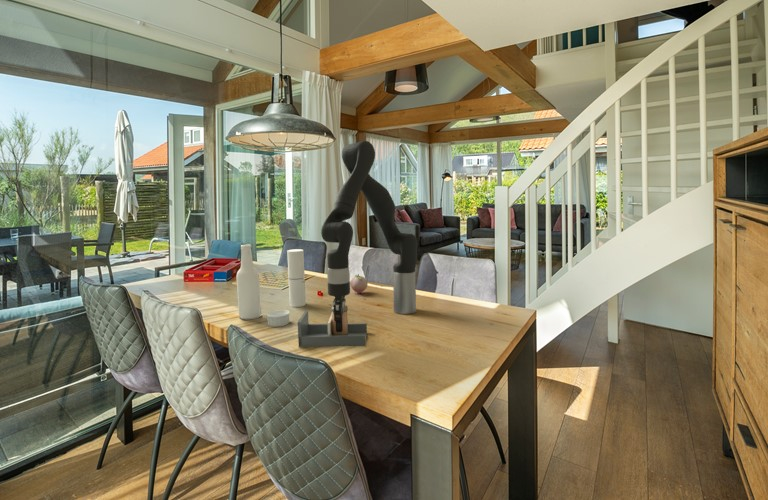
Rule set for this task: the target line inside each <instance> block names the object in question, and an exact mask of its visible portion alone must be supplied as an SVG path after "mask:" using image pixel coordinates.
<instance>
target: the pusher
mask: <svg viewBox="0 0 768 500" xmlns="http://www.w3.org/2000/svg"><path fill="white" fill-rule="evenodd" d="M329 316H330V317H329V319H328V322H327V323H326V324H328V335H332V313H331V314H330V315H329Z"/></svg>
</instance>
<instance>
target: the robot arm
mask: <svg viewBox="0 0 768 500" xmlns="http://www.w3.org/2000/svg"><path fill="white" fill-rule="evenodd" d="M341 158H342V162H343V164H344V166H345V168H346V170H347V171H348V172H349V174H350V176H349V177H348V178H347V179H346V181H344V183H343V184H342V185H341V187H340V189H339V190H338V193H337V196H336V198H335V200H334V201H335V202H334V204H333V208H332V209H331V211H330V213H329V214H328V215H327V217H326V219H324V221H323V224H322V226H321V230H320V231H321V232H320V233H321V238H322V240H323V241H324V242H325V243H332V244H333V243H337V244H338V246H337V248H335V249H330V250H328V252H327V256H326V257H327V277H326V278H327V280H326V281H327V294H328V295H329V296H330V297H334V298H333V301H332V306H333V307H334V321H336V332H342V330H343V325H342V321H343V314H344V306H345V305H346V302H347V301H346V296H348V295H350V294H351V285H350V281H351V279H350V278H351V277H350V276H351V275H350V274H351V273H350V267H349V266H350V264H349V263H350V262H349V260H350V259H349V254H350V250H351V249H350V248H351V246H352V245H351V244H352V242H353V237H354V230H353V226H352V224H351V223H350V222H348V221H347V220H350V219H352V218H353V216H354V212H355V208H356V206H357V202H358V199H359V195H360V193H362V194H363V196H364V198H365V200H366V203H367V204H368V207H369V208H370V210H371V212H372V214H373V216H374V217H375V219H376V221H377V223H378V225H379V227H380V229H381V231H382V234H383V235H384V239H385V240H386V244H387V246H388V247H389V250H390V251H391V252H392V253H393V254H395V255H398V256H401V258H400V262H397V263H394V264H393V268H392V269H393V270H392V271H393V273H392V275H393V276H392V278H393V280H392V281H393V282H392V283H393V312H394V313H396V314H400V315H409V314H414V313H416V312H417V304H416V303H417V291H416V268H417V267H416V266H417V263H418V246H419V245H418V243H419V242H418V239H417V236H416V235H414V234H413V233H405V232H401V231H400V230H399V228H398V226H397V224H396V221H395V217H396V204H395V202H394V200H393V198H392V195H391V194H390V192H389V190H388V188H386V187H385V186H384V185H382V184H381V183H380V182H379V181H377V180H376V179H375V178H373V177H372V175H370V174H369V173H370V172H371V169H372V168H373V165H374V163H375V158H376V151H375V148H374V146H373V144H372V143H371V142H370V141H368V140H361V141H358V142H353V143H350V144H347V145H344V146H343V147H342V150H341ZM341 309H342V310H341ZM337 315H340V317H337Z"/></svg>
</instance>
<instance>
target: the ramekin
mask: <svg viewBox="0 0 768 500" xmlns="http://www.w3.org/2000/svg"><path fill="white" fill-rule="evenodd" d="M265 315H266V318H267V324H268V326H269V327H272V328H273V327H274V328H275V327H284V326H286V325H288V324H289V323H290V315H291V313H290V310H286V309H277V310H272V311H268V312H267V313H266V314H265Z"/></svg>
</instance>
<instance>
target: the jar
mask: <svg viewBox="0 0 768 500" xmlns="http://www.w3.org/2000/svg"><path fill="white" fill-rule="evenodd" d="M341 310H342V309H341ZM348 310H349V309H348V305H346V304H345V306H344V314H343V321H342V325H343V330H342V332H336V321H334V307H333V305H332V306H331V307H330V311H331V314H332V335H348V318H349V317H348V312H349V311H348ZM337 317H340V315H337Z"/></svg>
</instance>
